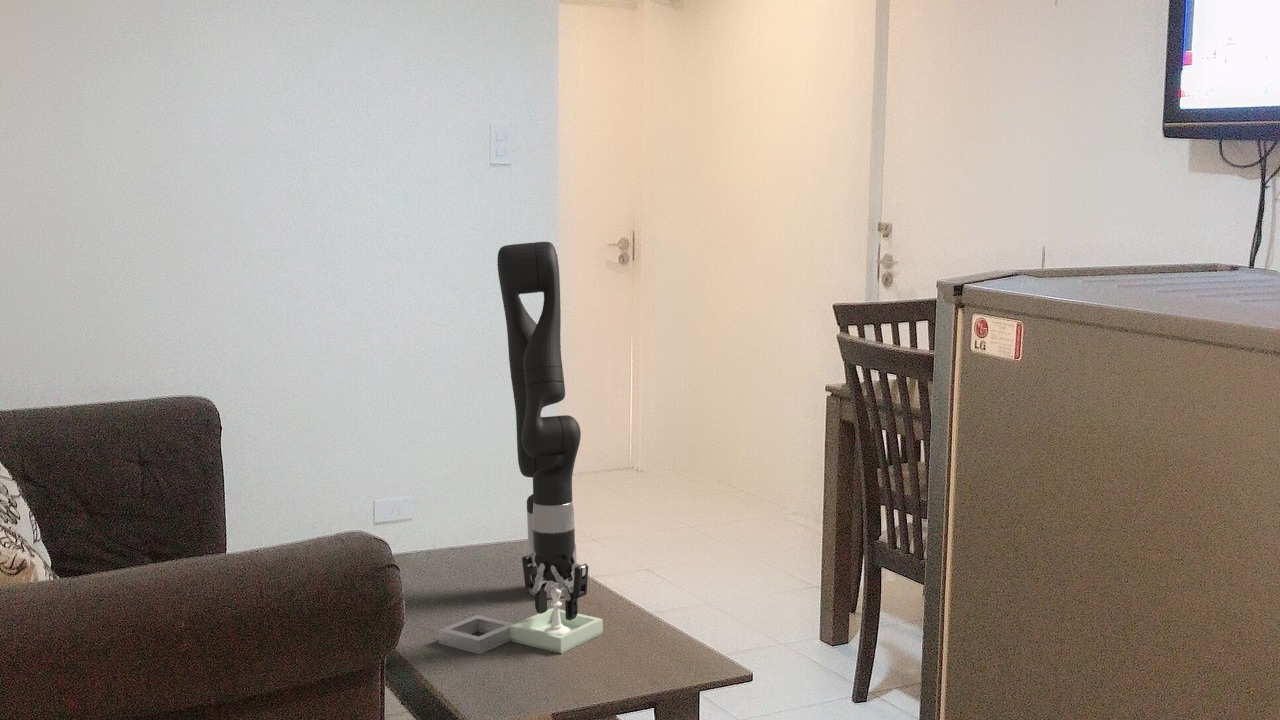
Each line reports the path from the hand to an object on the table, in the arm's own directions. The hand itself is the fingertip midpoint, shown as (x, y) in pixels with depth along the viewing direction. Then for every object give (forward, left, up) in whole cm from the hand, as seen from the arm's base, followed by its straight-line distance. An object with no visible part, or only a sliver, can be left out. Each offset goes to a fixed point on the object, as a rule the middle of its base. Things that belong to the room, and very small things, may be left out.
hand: (556, 615), depth 210 cm
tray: (0, 0, -4) cm, 4 cm away
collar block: (+9, -11, -4) cm, 15 cm away
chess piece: (0, 0, -4) cm, 4 cm away
